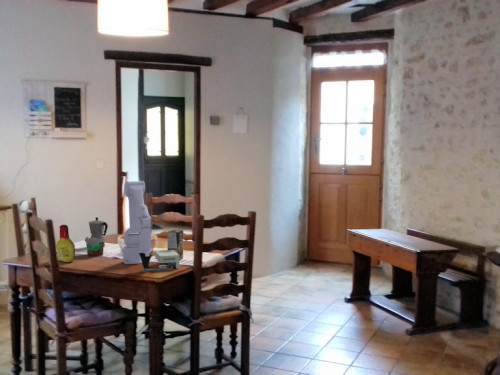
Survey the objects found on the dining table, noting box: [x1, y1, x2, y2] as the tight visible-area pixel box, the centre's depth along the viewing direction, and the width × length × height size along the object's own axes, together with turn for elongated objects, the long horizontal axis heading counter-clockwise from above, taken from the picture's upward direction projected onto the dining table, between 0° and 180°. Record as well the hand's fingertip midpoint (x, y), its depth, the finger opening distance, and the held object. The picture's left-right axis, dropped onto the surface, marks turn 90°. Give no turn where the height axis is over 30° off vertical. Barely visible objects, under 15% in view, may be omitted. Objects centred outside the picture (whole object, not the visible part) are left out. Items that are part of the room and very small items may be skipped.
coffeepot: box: [88, 217, 109, 247], centre depth 345 cm, size 15×9×18 cm, turn 59°
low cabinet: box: [154, 249, 180, 269], centre depth 298 cm, size 10×15×7 cm
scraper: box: [142, 262, 174, 273], centre depth 293 cm, size 15×11×6 cm
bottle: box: [55, 224, 76, 263], centre depth 305 cm, size 12×6×20 cm, turn 60°
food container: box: [84, 236, 106, 257], centre depth 321 cm, size 12×6×10 cm, turn 68°
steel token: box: [158, 264, 170, 269], centre depth 296 cm, size 5×5×1 cm
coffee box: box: [167, 229, 184, 262], centre depth 312 cm, size 9×6×16 cm
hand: (145, 267), depth 287 cm, fingers closed on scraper, 2 cm apart
